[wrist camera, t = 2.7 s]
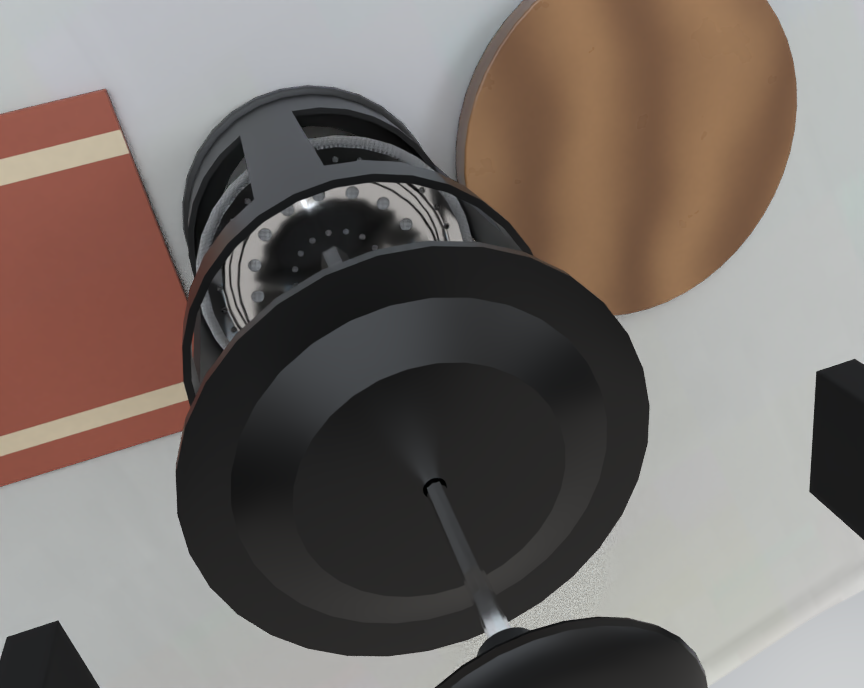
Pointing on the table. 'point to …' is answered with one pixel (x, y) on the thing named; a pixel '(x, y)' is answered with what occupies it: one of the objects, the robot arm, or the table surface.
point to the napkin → (81, 294)
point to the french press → (399, 408)
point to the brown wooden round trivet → (631, 136)
